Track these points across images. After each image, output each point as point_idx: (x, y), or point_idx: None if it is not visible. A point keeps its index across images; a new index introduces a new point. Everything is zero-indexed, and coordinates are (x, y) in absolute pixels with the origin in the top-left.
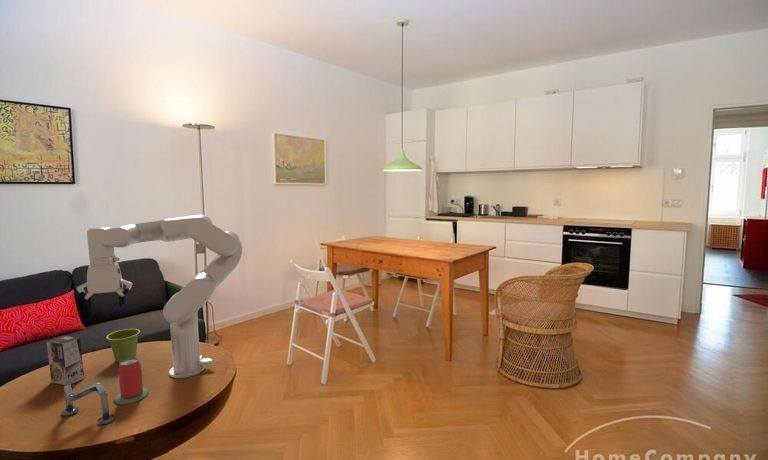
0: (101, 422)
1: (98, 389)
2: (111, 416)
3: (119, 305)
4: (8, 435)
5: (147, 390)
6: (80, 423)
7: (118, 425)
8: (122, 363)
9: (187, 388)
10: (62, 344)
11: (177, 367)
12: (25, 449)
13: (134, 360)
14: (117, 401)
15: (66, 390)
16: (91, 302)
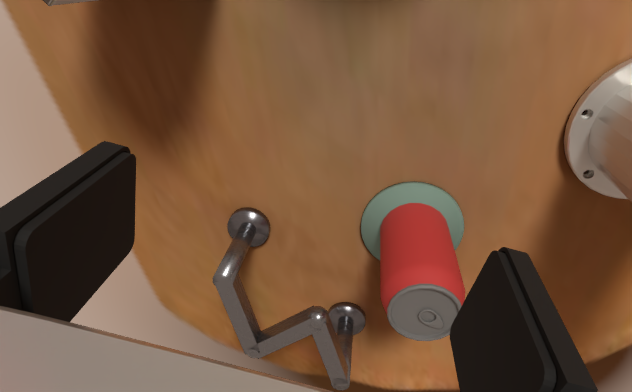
0: (336, 332)
1: (324, 359)
2: (357, 320)
3: (452, 348)
4: (138, 256)
5: (461, 227)
6: (288, 294)
7: (373, 348)
8: (398, 307)
9: (579, 270)
10: (49, 4)
11: (608, 179)
12: (202, 330)
13: (446, 305)
14: (370, 247)
15: (231, 314)
16: (80, 285)
